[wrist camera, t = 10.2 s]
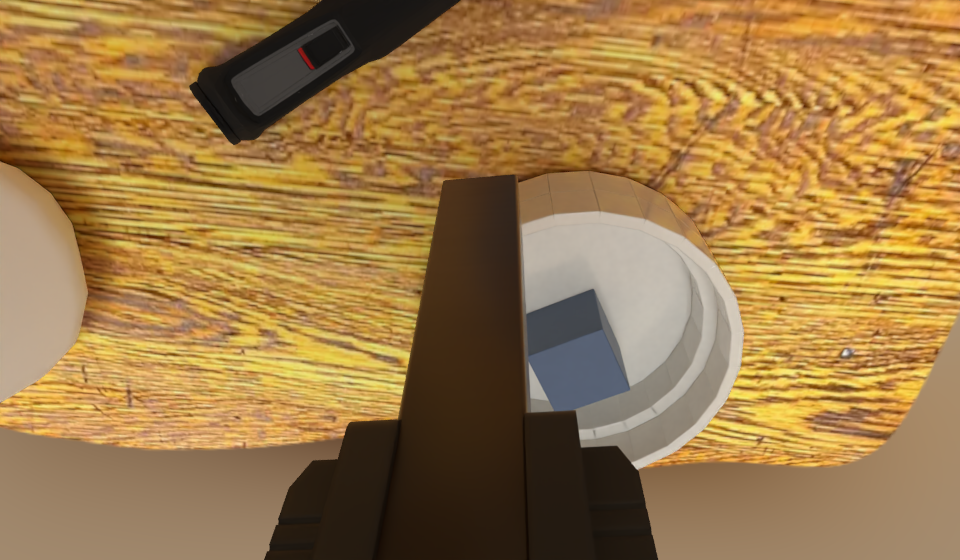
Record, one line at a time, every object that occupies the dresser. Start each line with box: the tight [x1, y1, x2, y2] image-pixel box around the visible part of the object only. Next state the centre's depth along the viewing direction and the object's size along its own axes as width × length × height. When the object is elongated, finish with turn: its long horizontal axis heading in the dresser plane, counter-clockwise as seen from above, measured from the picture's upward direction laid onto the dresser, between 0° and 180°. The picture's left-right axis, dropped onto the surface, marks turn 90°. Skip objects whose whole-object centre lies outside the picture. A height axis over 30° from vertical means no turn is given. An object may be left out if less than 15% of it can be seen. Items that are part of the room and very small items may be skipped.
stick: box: [376, 175, 531, 560], centre depth 13 cm, size 2×2×14 cm
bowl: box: [518, 171, 744, 470], centre depth 39 cm, size 15×15×6 cm
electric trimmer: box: [189, 0, 460, 145], centre depth 33 cm, size 4×16×3 cm, turn 120°
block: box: [526, 289, 630, 411], centre depth 40 cm, size 4×4×4 cm
